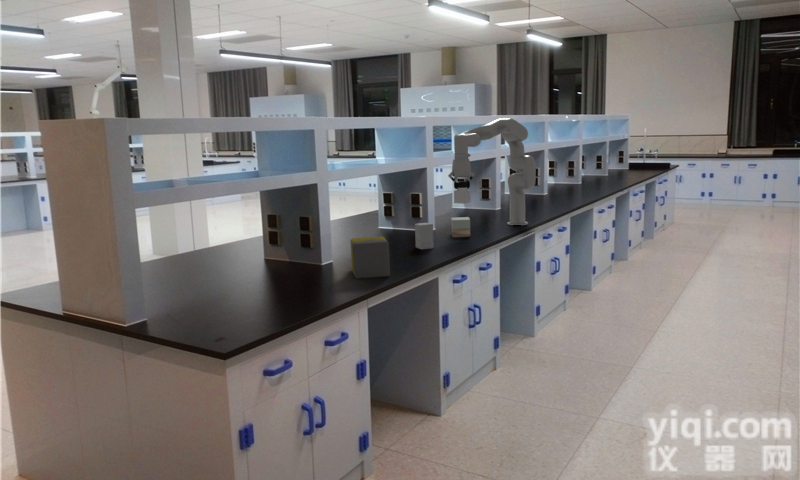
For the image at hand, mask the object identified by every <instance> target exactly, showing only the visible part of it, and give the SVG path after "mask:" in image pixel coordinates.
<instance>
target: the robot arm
mask: <svg viewBox="0 0 800 480" xmlns="http://www.w3.org/2000/svg"><path fill="white" fill-rule="evenodd" d="M498 135H501V137H502V139H503V140H504V141H505V142H506V143H507V144H508V147H509V161H510V162H509V164H510V165H509V166H510V169H511V170H512V171H515V173H512V174H510V175H509V176H508V177H507V185H508V193H509V221H508V222H506V223H507V225H508V226H513V225H521V226H526V225H528V224H529V222H528V221H526V195H525V191H524V190H532V189H534V187H535V186H536V180H537V178H536V174H537V171H536V170H537V166H536V165H537V164H536V163H537V162H536V159H535V158H534V157H533V156H532V155H525V146H524V143H523V141H525V140H526V139H527V138H528V136H529V132H528V129H527V128H526V127H525V126H524V125H523V124H521V123H520V122H518V120H515V119H514V118H510V117H508V118H507V117H506V118H496V119H495V120H492V121H491V122H488V123H487V124H484V125H480V126H478V127H474V128H471V129H469V130H466V131H464V132H461V133H459V134H455V135H454V137H453V141H454V142H453V144H454V146H453V147H454V151H453V152H454V159H453V160H452V164H451V172H450V173H449V174H448V175H447V176H448V178H450V179H451V181H452V182H453V188H454V190H457V189H458V184H457V182H458V178H466V180H465V182H467V190H470V187H471V181H472V180H473V178H475V176H476V174H475V172H474V171H472V169H471V168H472V166H471V162H470V161H471V160H470V158H469V157H471V153H469V148H475V147H478V146H480V144H481V143H482V141H487V140H490V139H492V138H494V137H497V136H498ZM519 172H520V173H519ZM521 172H523V173H521Z"/></svg>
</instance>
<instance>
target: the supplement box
mask: <svg viewBox="0 0 800 480" xmlns="http://www.w3.org/2000/svg"><path fill="white" fill-rule="evenodd" d="M414 233H415V234H414V236H415V238H414V240H415V248H416V249H418V250H419V249H420V250H428V249H429V250H430V249H434V248H435V247H434V246H435V245H434V241H435V240H434V224H433V223H429V222H420V223H415V224H414Z"/></svg>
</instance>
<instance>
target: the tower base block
mask: <svg viewBox="0 0 800 480" xmlns="http://www.w3.org/2000/svg"><path fill="white" fill-rule="evenodd" d="M451 236H452V238H465V237H467V238H469V237H471V227H470V228H467V229H452V228H451Z"/></svg>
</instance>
